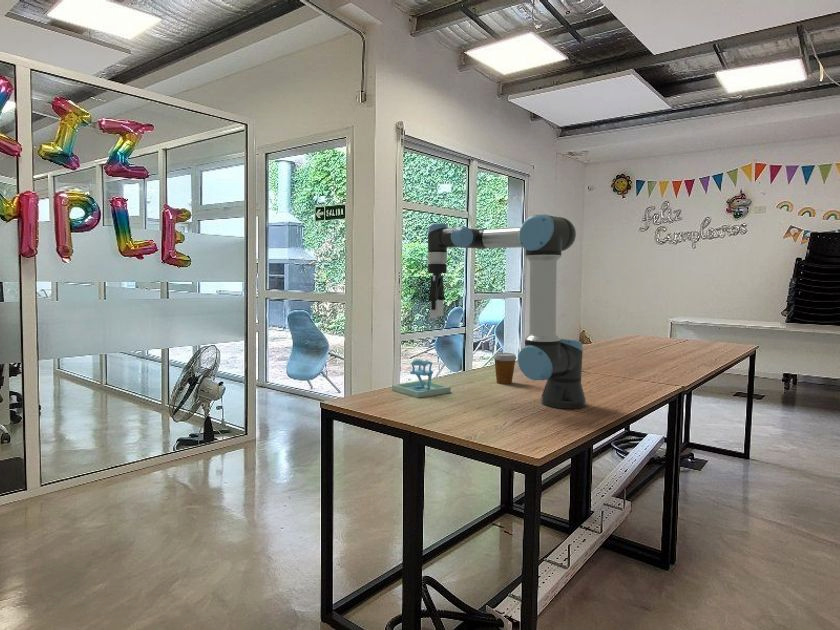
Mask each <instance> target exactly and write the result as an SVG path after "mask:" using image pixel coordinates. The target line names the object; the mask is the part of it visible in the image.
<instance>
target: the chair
mask: <svg viewBox="0 0 840 630" xmlns="http://www.w3.org/2000/svg"><path fill="white" fill-rule="evenodd" d="M428 365H429V366H428ZM432 365H433V362H432V361H430V360H428V359H427V360H422V359H418V358H416V359H414V360H412V362H411V366H412V370H411V371H410V372H409V373H410V375H416V377H417V378H418V381H420V383H421V386H416V387H410V388H408V389H412V390H415V391H424V390H421V388H425V385H424V383H423V381H422V377H421V376H427V379H428V380H427V381H428V385H427V387H426V388H425V390H429V389H430V383H431V382H432V376H433V374H434V371H433V370H432ZM415 366H418V369H416V368H415ZM427 366H428V370H426V367H427ZM422 368H423V369H422Z"/></svg>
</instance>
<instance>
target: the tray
mask: <svg viewBox="0 0 840 630" xmlns="http://www.w3.org/2000/svg"><path fill="white" fill-rule="evenodd" d="M422 381H423V383H424V385H425V388H426V387H427V385H428V380H425V379H423V380H422ZM416 386H421V383H420V381H419V380H417V381H409V382H402V383H396V384H391V391H393V392H397V393H399V394H403V393H404V395H406V394H407V396H409V397H410V396H411V397H414V398H416V399H419V398H426V397H430V396H431V397H432V396H437V395H443V394H449V393H451V390H452V389H451V388H452V387H451V386H450V385H449V386H448V385H444V384H441V383H436V382H434V381H431V383H430V389H429V390H425V388H421V390H424V391H415V390H412V389H408V388H410V387H416Z"/></svg>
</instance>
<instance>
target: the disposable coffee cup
mask: <svg viewBox="0 0 840 630" xmlns="http://www.w3.org/2000/svg"><path fill="white" fill-rule="evenodd" d="M492 358H493V360H494V367H495V369H494V370H495V371H494V372H495V377H496V380H495V381H496V384H500V385H510V384H511V385H512V384H513V377H514V370H515V365H516V364H515V363H516V360H517V356H516V354H515V353H510V352H496V353H494V355H493V356H492Z"/></svg>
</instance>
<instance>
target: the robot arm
mask: <svg viewBox="0 0 840 630" xmlns="http://www.w3.org/2000/svg"><path fill="white" fill-rule="evenodd" d="M427 229H428V230H427V255H426V258H427V262H428V264H427V273H428V274H432V275H430V287H429V296H428V299H427V301H428V302H429V303H430V304H429V306H430V307H429V308H430V309H429V312H430V313H429V318H430V319H438V317H444V301H446V295H445V291H444V289H445V288H444V286H445V285H444V276H443V275H442V274H447V273H448V272H447V271H448V270H447V269H448V267H447V262H448V248H462V249H463V248H464V249H477V250H478V249H479V250H485V249H499V248H500V249H505V248H506V249H511V248H523V249H525V254H524V255H525V256H524V257H525V258H526V260H528V262H529V333H528V335H527V336H525V337H524V347H523V348H521V350H520V351H519V353H518V355H517V364H518V367H519V370H520V371H521V373H523V375H524V376H525V377H526V378H528V379H529V380H532V381H545V380H546V382H545V386H544V388H543V392H542V394H541V397H540V398H541V401H540V403H541V404H542V405H544V406H547V407H552V408H556V409H563V410H564V409H565V410H569V409H570V410H571V409H573V410H575V409H582V408H584V406H585V405H586V404H587V403H586V402H587V400H586V397H585V392H584V388H583V385H582V373H583V371H582V370H583V369H582V367H583V352H584V351H583V343H582V342H581V341H580V340H574V339H566V338H565V339H564V338H560V337H559V336H558V335H557V271H558V270H557V264H558V263H557V262H558V261H559V259H560V258H561V257H562V252H564V251H566V250H568V249H569V248H571V246H573V244H574V242H576V241H575V240H576V235H577V233H576V231H577V230H576V227H575V226H574V224H573V223H572V221H570V220H569V219H568V218H564V217H562V216H554V215H548V214H542V213H541V214H533V215H531V216H529V217H527V218H526V219H525V220H524V221H523V222H522V223H521V226H516V227H514V226H513V227H498V228H496V227H495V228H481V229H480V228H479V229H477V228H469V227H468V226H455V227H448V225H447V223H440V222H438V223H437V222H436V223H430V224H429V225H428V227H427ZM586 406H587V405H586ZM586 406H585V407H586Z"/></svg>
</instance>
